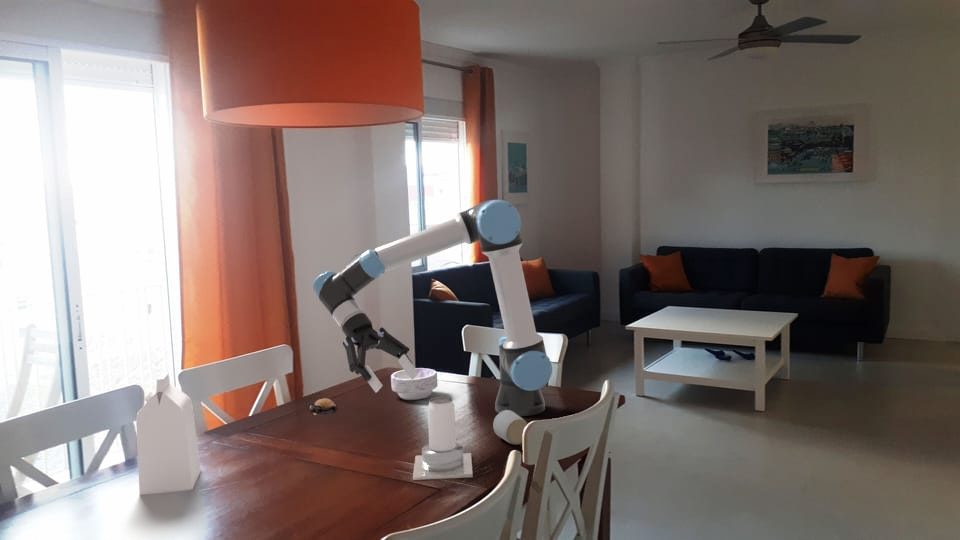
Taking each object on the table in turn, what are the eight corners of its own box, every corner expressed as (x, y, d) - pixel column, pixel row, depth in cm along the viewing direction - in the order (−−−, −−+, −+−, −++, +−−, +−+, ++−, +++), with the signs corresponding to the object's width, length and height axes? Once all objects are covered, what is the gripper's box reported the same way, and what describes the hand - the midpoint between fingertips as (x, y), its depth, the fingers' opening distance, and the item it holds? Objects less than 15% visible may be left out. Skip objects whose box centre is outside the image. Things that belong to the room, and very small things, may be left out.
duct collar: (471, 456, 188) (470, 437, 188) (472, 477, 174) (471, 457, 174) (415, 458, 188) (414, 440, 187) (412, 480, 174) (411, 460, 173)
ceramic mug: (507, 448, 193) (506, 419, 192) (492, 439, 200) (492, 411, 199) (542, 441, 197) (542, 413, 197) (527, 433, 205) (526, 406, 204)
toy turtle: (308, 408, 238) (307, 397, 238) (334, 404, 241) (333, 393, 240) (312, 417, 228) (311, 405, 228) (339, 413, 231) (339, 401, 230)
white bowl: (382, 398, 244) (381, 375, 243) (413, 388, 256) (412, 365, 255) (416, 405, 235) (415, 381, 234) (447, 394, 247) (446, 370, 246)
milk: (192, 489, 173) (183, 380, 170) (139, 495, 171) (129, 384, 168) (200, 470, 185) (193, 368, 182) (151, 475, 182) (142, 372, 180)
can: (461, 447, 181) (459, 399, 180) (442, 454, 176) (440, 405, 175) (442, 441, 185) (440, 394, 184) (423, 449, 180) (421, 400, 179)
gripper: (379, 321, 210) (422, 379, 203) (310, 338, 190) (355, 403, 183) (391, 304, 206) (436, 362, 199) (323, 319, 186) (369, 385, 179)
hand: (397, 382), depth 191 cm, fingers open, 13 cm apart
